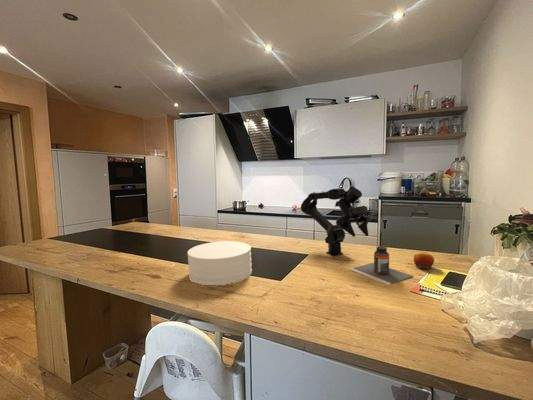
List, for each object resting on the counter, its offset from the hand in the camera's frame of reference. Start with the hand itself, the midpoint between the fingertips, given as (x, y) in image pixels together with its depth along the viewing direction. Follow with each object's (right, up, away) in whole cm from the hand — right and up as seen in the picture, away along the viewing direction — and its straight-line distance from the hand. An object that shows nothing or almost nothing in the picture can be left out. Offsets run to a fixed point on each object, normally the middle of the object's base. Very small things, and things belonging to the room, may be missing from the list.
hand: (361, 236), depth 128 cm
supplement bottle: (+4, -14, -12) cm, 19 cm away
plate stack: (-66, -17, -5) cm, 68 cm away
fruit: (+26, -14, -6) cm, 30 cm away
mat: (+5, -14, -11) cm, 19 cm away
